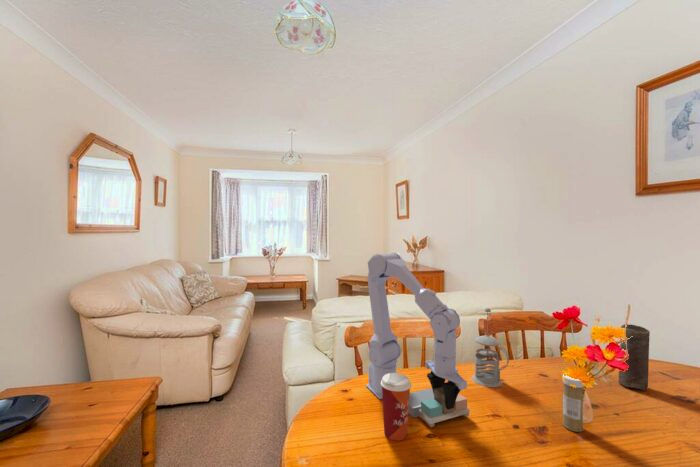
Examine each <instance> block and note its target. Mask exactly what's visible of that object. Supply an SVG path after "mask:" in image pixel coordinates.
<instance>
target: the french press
mask: <svg viewBox="0 0 700 467" xmlns="http://www.w3.org/2000/svg"><path fill="white" fill-rule="evenodd" d="M484 312H486V315H487V317H486V318H487V321H486V326H487V327H486V335H480V336H477V337H475V338H474V341H475V343H477V344H478V345H482V346H486V348H478V349H476V351H475V352H476V353H475V355H474V356H475V357H474V359H475V360H474V374H473V375H472V376H471V380H472V381H473V382H474V383H476V384H478V385H480V386H483V387H488V388H498V387H499V388H500V387H501V386H503V381H502V379H501V371H502V370H505V369H506V368H507V366H508V364H509V362H510V355H509V353H508V351H507V349H505V348H504V347H502V346H499V345H500V344H501V341H500V340H498V339H497V338H495V337H494V336H491V335H489V334H488V333H489V313H491V309H490V308H487V307H486V308H485V309H484ZM497 346H499V347H498V351H496V350H494V349H489V347H497ZM501 351H503V353H504V355H505V356H506V359H507V360H506V365H504V366H502V367H500V357H499V353H498V352H501ZM486 358H487V359H486ZM495 359H496V360H495Z"/></svg>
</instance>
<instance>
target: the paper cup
mask: <svg viewBox="0 0 700 467" xmlns="http://www.w3.org/2000/svg"><path fill="white" fill-rule="evenodd" d="M381 386H382V398H383V399H382V414H383V418H382V419H383V432H384V435H385V437H386V438H387V439H389V440H391V441H396V442H398V441H403V440H405V439H406V438H407V434H408V420H409V413H408V409H409V394H410V393H411V392H410V391H411V388H412V383H411V381H410V378H409V377H408V376H407V375H405V374H403V373H398V372H396V373H389V374H386V375H384V376H383V378H382V380H381Z"/></svg>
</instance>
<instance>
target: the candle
mask: <svg viewBox="0 0 700 467" xmlns="http://www.w3.org/2000/svg"><path fill="white" fill-rule="evenodd" d="M626 325H627V327H626V337H627V338H630V337H631V336H633V337H631V338H630V339H628V340H627V349H628V354H629V359H628V360H626V361H625V362H626V363H627V364H628V365H629V368H628V370H626V371H625V372H623V371H619V370H618V383H619V384H621V385H622V386H623V387H627V388H630V387H631V389H634V388H635V389H634V390H638V389H640V390H639V391H644V390H647V389H648V386H649V358H650V330H648V329H647V328H645V327H643V326H641V325H635V324H627V323H626ZM621 328H625V324H622V325H621V326H620V329H621ZM621 340H622V339H621V338H620V341H621ZM620 347H621V348H622V349H624V350H626V344H625V342H623V343H621V344H620V345H619V348H620Z"/></svg>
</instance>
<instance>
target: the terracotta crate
mask: <svg viewBox="0 0 700 467" xmlns="http://www.w3.org/2000/svg"><path fill="white" fill-rule="evenodd" d="M467 407H468V398H466V397H465V396H464V395H462V394H460V393H459V394H458V396H457V398H456V401H455V406H454V410H455V411H458V410H462V409H465V408H467Z"/></svg>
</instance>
